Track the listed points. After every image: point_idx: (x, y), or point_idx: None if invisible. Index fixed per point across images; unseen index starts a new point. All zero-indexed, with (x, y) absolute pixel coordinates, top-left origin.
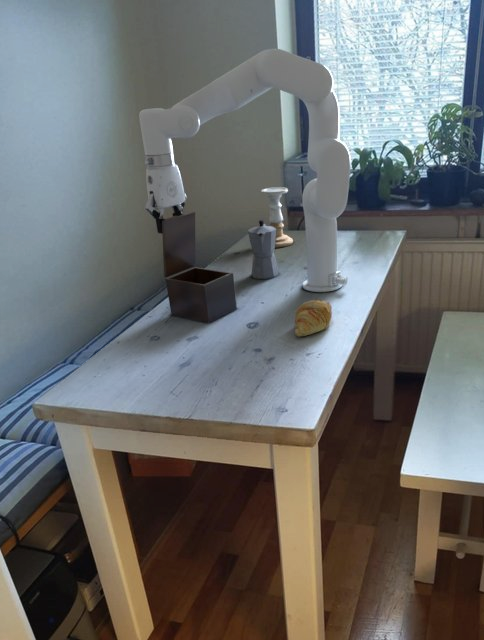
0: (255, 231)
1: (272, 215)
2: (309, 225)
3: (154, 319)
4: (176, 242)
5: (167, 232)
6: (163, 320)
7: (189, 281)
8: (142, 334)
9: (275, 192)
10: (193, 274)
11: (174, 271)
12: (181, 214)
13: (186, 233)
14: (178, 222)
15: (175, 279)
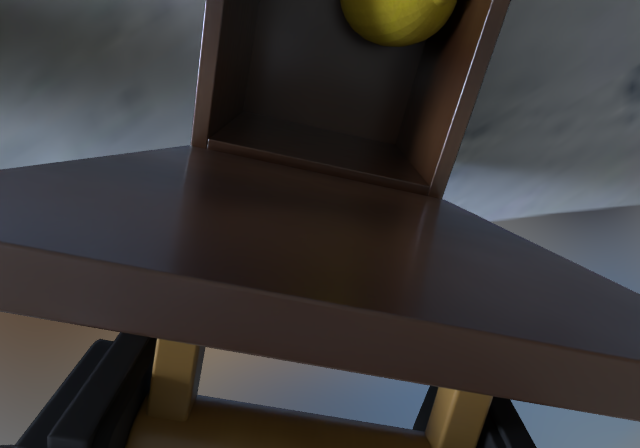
0: None
1: None
2: None
3: (456, 193)
4: (394, 217)
5: (602, 290)
6: (462, 153)
7: (277, 140)
8: (609, 152)
9: None
10: (235, 136)
11: (379, 187)
12: (74, 424)
13: (231, 195)
14: (402, 280)
15: (381, 171)
